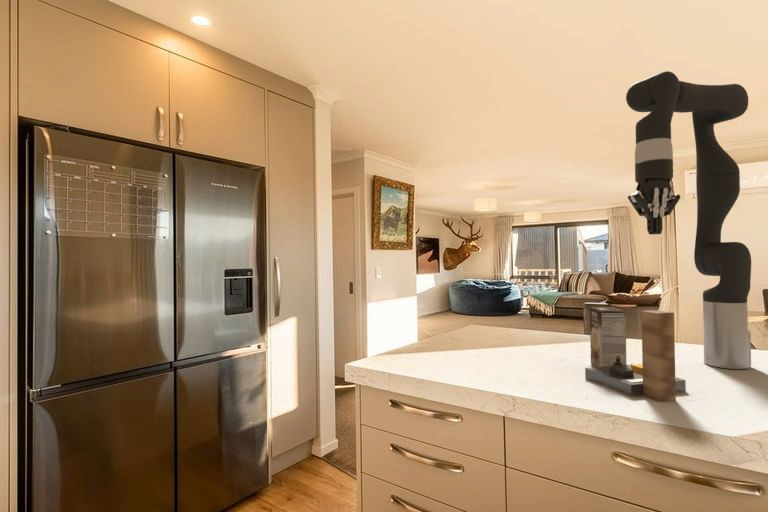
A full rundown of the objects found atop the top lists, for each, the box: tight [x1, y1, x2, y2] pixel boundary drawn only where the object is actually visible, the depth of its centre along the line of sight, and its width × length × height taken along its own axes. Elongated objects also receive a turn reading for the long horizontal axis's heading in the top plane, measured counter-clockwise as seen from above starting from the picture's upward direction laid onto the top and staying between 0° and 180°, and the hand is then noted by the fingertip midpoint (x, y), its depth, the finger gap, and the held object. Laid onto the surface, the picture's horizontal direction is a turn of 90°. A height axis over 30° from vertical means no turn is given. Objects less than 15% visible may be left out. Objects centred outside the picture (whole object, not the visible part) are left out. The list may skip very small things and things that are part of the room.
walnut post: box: [641, 309, 677, 403], centre depth 85 cm, size 4×4×18 cm
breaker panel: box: [584, 363, 687, 397], centre depth 94 cm, size 14×14×4 cm
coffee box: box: [589, 306, 627, 367], centre depth 107 cm, size 9×6×16 cm
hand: (654, 234), depth 96 cm, fingers closed
